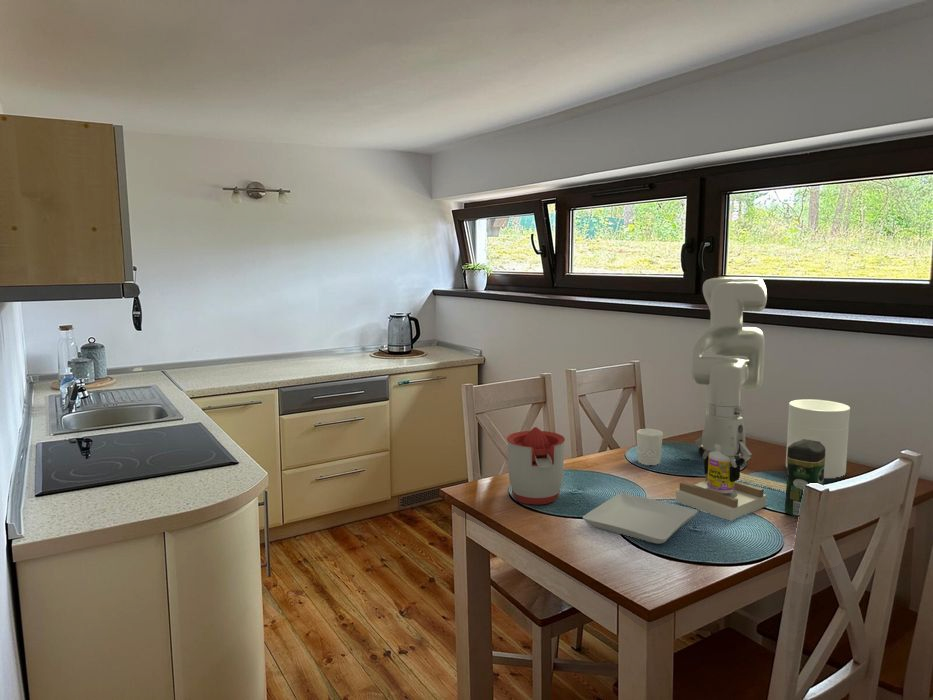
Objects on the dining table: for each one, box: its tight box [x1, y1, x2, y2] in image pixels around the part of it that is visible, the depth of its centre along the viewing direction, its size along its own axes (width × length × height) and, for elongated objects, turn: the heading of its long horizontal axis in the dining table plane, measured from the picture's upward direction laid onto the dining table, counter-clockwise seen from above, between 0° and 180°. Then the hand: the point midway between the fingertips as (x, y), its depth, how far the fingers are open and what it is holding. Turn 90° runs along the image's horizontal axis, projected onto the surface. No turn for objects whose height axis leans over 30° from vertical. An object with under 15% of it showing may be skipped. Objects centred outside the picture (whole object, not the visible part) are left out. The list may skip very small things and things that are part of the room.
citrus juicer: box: [506, 426, 566, 505], centre depth 172 cm, size 16×17×20 cm
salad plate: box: [582, 492, 699, 544], centre depth 155 cm, size 21×21×3 cm
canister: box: [785, 398, 851, 479], centre depth 191 cm, size 16×16×20 cm
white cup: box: [636, 428, 664, 466], centre depth 201 cm, size 8×8×10 cm
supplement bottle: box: [707, 444, 735, 494], centre depth 166 cm, size 7×7×13 cm
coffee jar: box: [784, 439, 825, 519], centre depth 159 cm, size 10×8×19 cm
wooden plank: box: [739, 472, 787, 491], centre depth 183 cm, size 24×7×2 cm, turn 41°
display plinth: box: [675, 474, 767, 522], centre depth 167 cm, size 16×16×5 cm
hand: (721, 476), depth 166 cm, fingers closed on supplement bottle, 6 cm apart
